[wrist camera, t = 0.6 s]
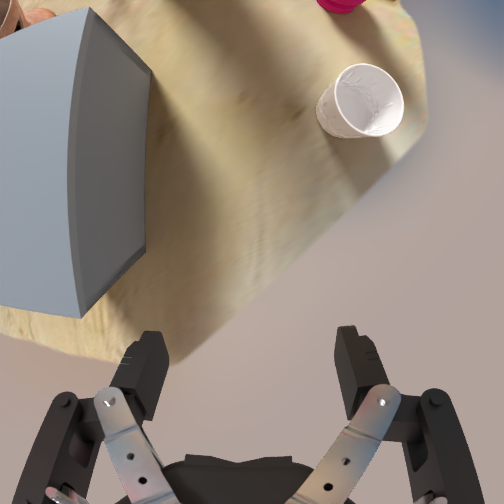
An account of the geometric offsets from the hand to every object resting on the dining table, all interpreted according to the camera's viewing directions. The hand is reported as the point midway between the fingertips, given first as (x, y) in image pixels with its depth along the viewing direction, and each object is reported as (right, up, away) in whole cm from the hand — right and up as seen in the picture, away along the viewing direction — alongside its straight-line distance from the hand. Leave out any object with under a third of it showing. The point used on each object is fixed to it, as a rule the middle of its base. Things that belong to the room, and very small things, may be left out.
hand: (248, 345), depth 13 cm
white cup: (+12, +22, +22) cm, 33 cm away
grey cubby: (-19, +16, +22) cm, 33 cm away
